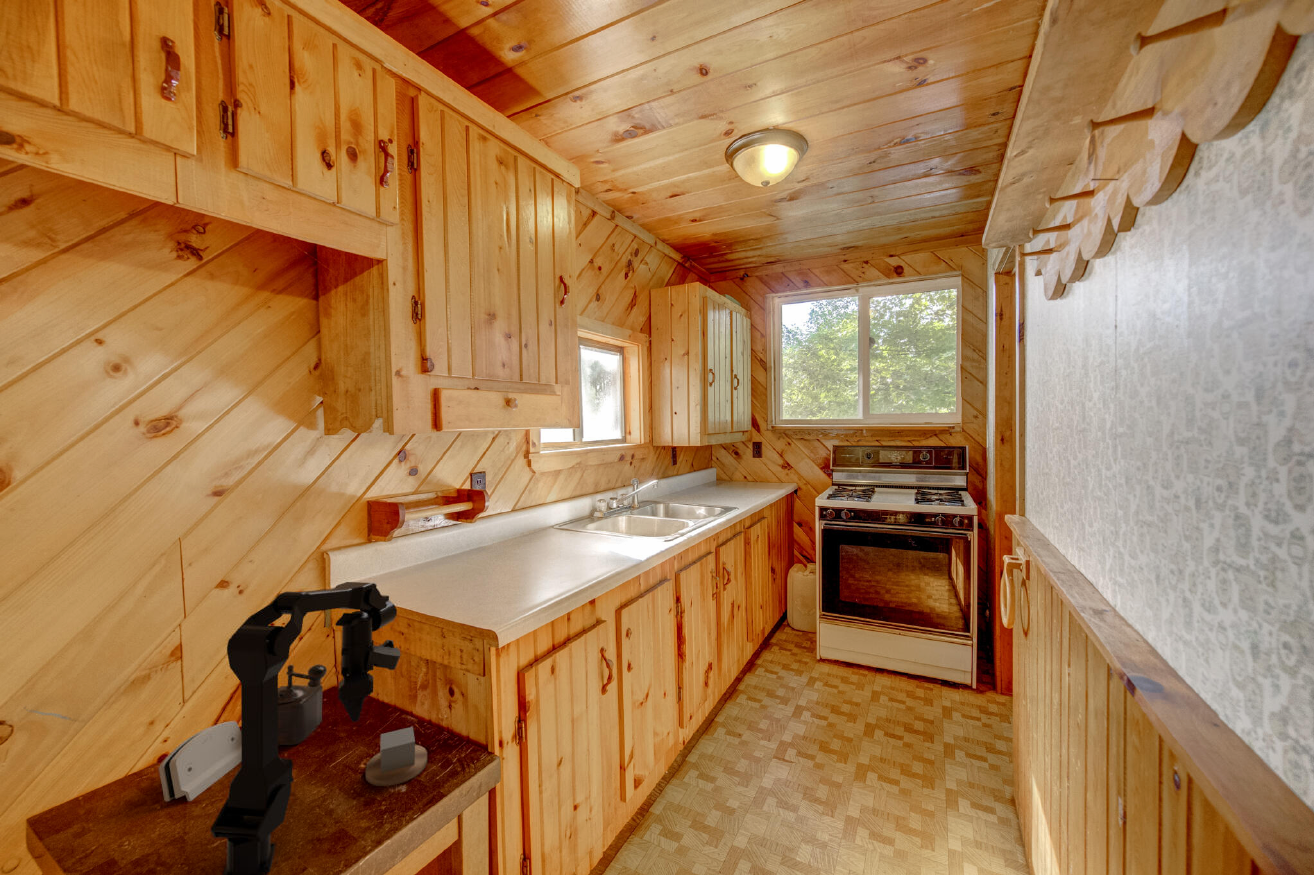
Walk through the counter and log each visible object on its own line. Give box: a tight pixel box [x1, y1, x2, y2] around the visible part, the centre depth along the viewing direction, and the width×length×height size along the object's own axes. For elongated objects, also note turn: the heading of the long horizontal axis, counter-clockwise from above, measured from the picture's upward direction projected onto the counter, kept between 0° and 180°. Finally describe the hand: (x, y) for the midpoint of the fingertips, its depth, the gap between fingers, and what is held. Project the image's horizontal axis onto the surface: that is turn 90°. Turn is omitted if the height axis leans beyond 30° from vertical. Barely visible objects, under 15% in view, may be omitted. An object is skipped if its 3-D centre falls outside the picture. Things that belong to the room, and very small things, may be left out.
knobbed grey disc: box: [365, 744, 428, 787], centre depth 112 cm, size 12×12×5 cm
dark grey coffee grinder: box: [278, 664, 328, 746], centre depth 124 cm, size 16×11×18 cm
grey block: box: [379, 726, 416, 774], centre depth 112 cm, size 6×6×5 cm
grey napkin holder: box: [158, 720, 242, 802], centre depth 109 cm, size 17×5×10 cm, turn 0°
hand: (356, 711), depth 113 cm, fingers open, 9 cm apart
